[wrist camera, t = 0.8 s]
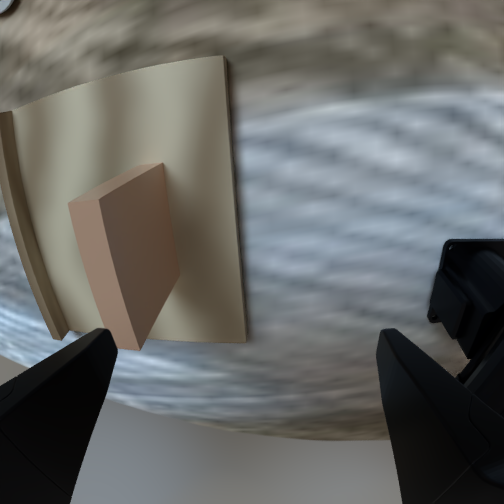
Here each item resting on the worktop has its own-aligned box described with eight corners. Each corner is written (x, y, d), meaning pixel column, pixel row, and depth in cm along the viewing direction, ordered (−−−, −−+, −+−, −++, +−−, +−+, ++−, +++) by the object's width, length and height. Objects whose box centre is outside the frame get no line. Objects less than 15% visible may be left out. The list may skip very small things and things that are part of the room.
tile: (162, 162, 17) (98, 199, 10) (180, 274, 20) (140, 350, 13) (136, 165, 17) (64, 203, 10) (156, 274, 20) (109, 347, 13)
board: (226, 58, 15) (218, 50, 13) (247, 334, 22) (244, 357, 20) (12, 112, 16) (-10, 117, 14) (66, 322, 24) (53, 339, 22)
